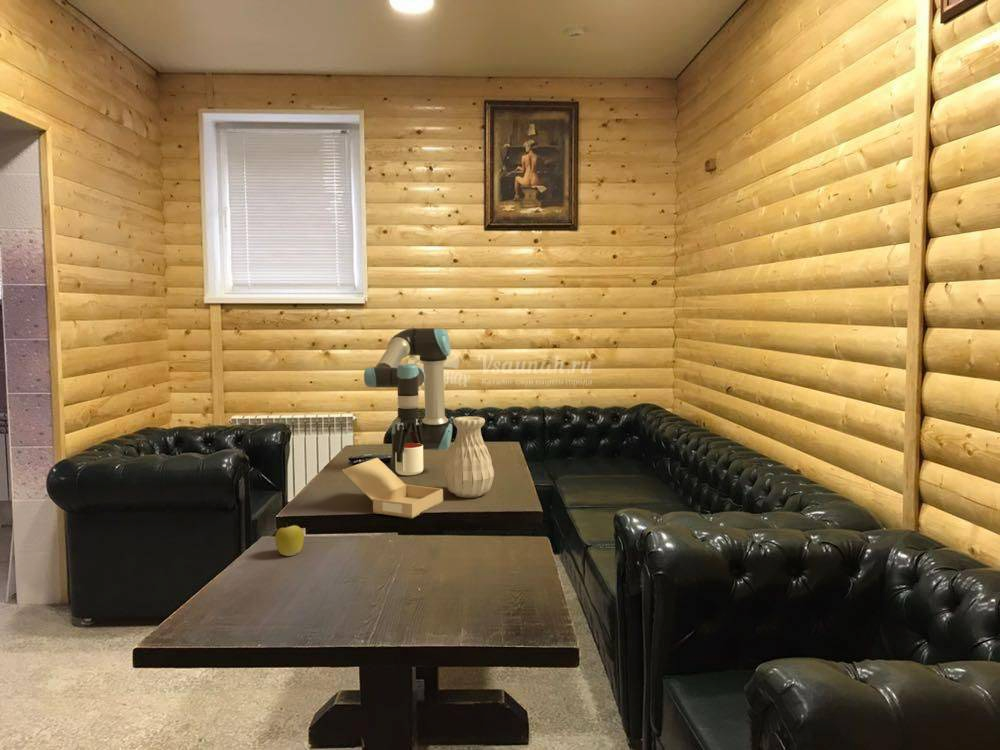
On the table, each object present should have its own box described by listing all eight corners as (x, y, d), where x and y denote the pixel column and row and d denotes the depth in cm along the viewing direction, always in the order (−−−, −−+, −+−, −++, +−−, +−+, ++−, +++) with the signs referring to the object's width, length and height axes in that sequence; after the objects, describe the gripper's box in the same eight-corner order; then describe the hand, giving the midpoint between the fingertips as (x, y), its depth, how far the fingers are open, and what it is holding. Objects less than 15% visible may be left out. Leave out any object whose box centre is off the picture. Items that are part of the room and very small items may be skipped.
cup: (391, 475, 237) (391, 447, 236) (401, 469, 247) (401, 442, 246) (418, 476, 235) (417, 448, 234) (427, 470, 245) (426, 443, 244)
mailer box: (406, 497, 255) (406, 484, 255) (443, 502, 249) (442, 488, 249) (373, 512, 235) (372, 499, 235) (412, 518, 229) (411, 504, 228)
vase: (451, 486, 272) (451, 414, 269) (499, 489, 268) (499, 415, 265) (436, 499, 252) (436, 421, 250) (488, 502, 248) (488, 423, 246)
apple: (306, 553, 192) (295, 521, 190) (279, 563, 191) (267, 531, 189) (310, 544, 199) (299, 513, 198) (283, 553, 198) (272, 523, 197)
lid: (406, 484, 255) (405, 486, 255) (377, 457, 259) (376, 458, 260) (372, 499, 235) (371, 500, 235) (342, 469, 239) (341, 470, 239)
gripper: (415, 402, 251) (415, 460, 253) (381, 410, 230) (382, 473, 232) (432, 403, 248) (433, 462, 250) (400, 411, 227) (400, 475, 229)
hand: (408, 467), depth 241 cm, fingers closed on cup, 10 cm apart
